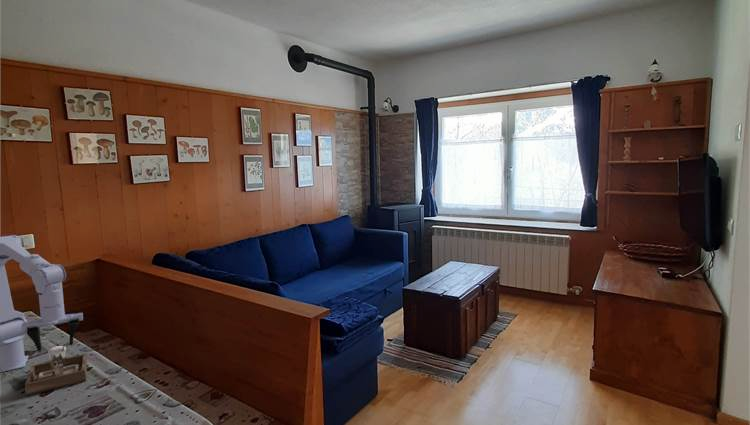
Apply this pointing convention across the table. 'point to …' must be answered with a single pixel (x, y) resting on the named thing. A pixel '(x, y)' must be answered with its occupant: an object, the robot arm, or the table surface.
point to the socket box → (44, 380)
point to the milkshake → (58, 360)
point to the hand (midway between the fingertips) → (55, 347)
